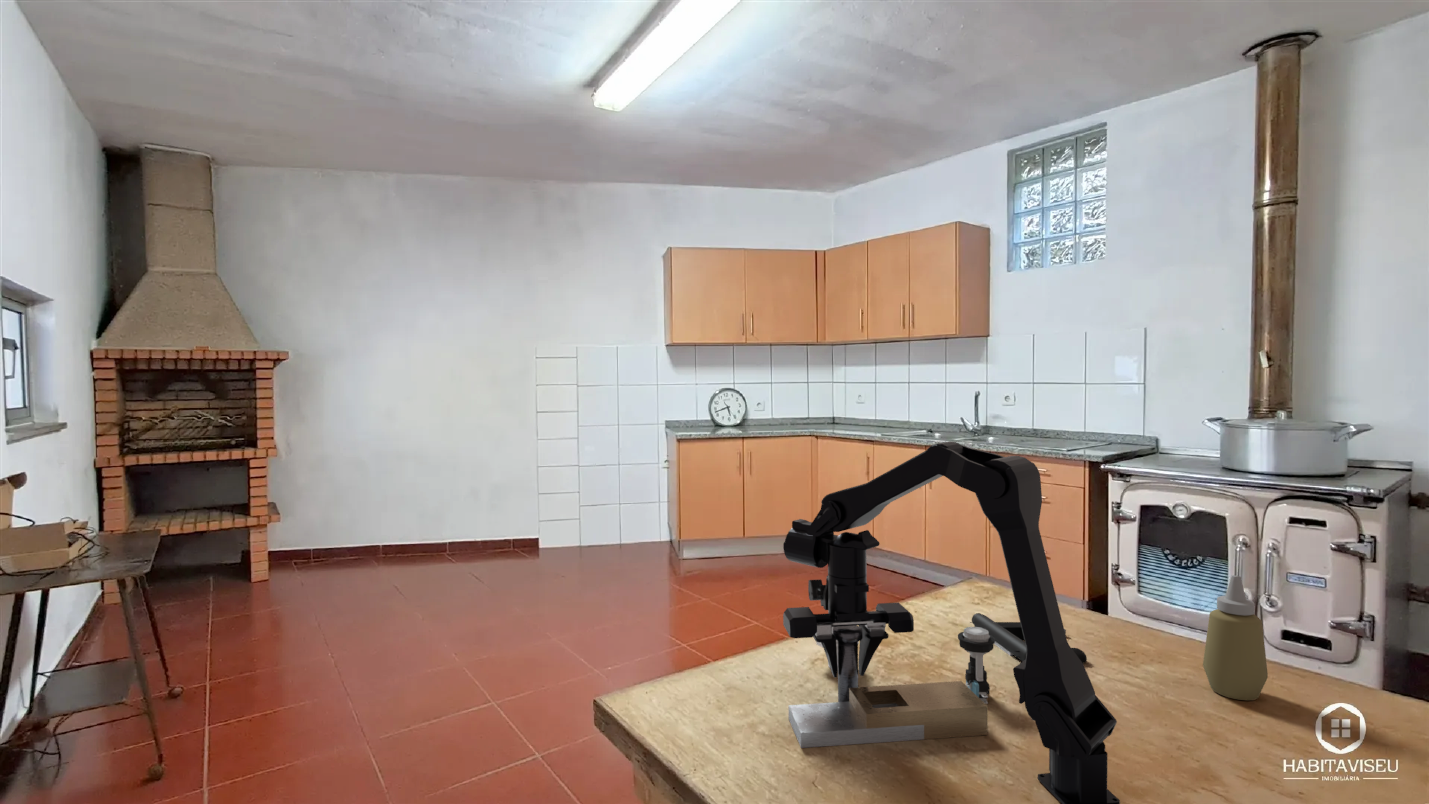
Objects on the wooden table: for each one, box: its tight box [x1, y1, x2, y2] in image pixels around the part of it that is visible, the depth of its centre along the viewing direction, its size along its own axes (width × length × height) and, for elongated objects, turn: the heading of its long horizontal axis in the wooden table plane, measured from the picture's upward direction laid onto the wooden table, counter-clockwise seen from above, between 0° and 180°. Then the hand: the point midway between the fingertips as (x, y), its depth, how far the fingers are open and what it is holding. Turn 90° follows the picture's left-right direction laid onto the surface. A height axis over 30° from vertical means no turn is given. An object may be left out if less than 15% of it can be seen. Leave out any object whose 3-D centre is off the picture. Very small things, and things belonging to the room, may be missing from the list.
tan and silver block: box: [788, 680, 989, 749], centre depth 100 cm, size 8×26×4 cm, turn 96°
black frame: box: [969, 612, 1088, 664], centre depth 129 cm, size 3×20×16 cm
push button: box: [957, 626, 995, 705], centre depth 108 cm, size 7×5×10 cm
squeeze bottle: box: [1202, 574, 1269, 701], centre depth 108 cm, size 8×8×18 cm
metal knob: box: [833, 625, 863, 702], centre depth 107 cm, size 4×4×11 cm
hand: (847, 675), depth 107 cm, fingers closed on metal knob, 4 cm apart
